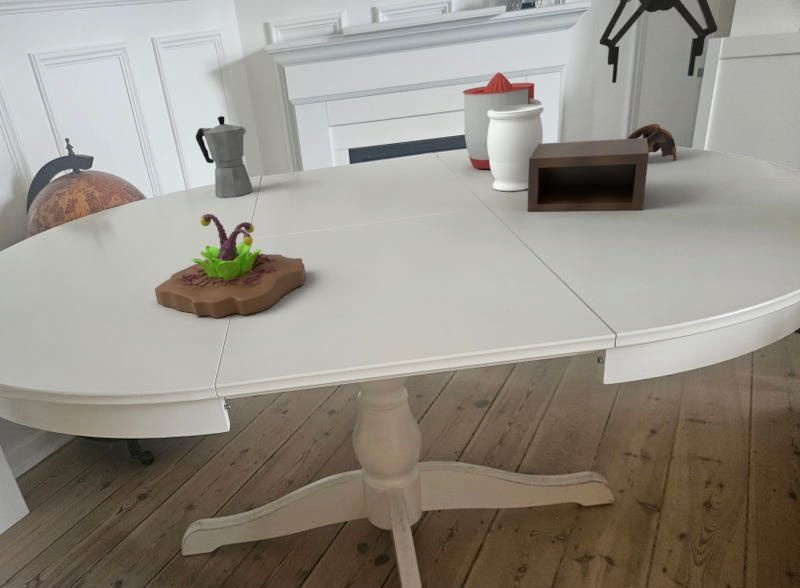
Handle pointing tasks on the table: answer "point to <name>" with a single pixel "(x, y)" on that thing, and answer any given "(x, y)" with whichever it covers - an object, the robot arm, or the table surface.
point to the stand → (588, 175)
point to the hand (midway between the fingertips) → (651, 79)
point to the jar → (513, 144)
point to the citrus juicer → (481, 102)
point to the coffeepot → (226, 158)
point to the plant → (231, 278)
